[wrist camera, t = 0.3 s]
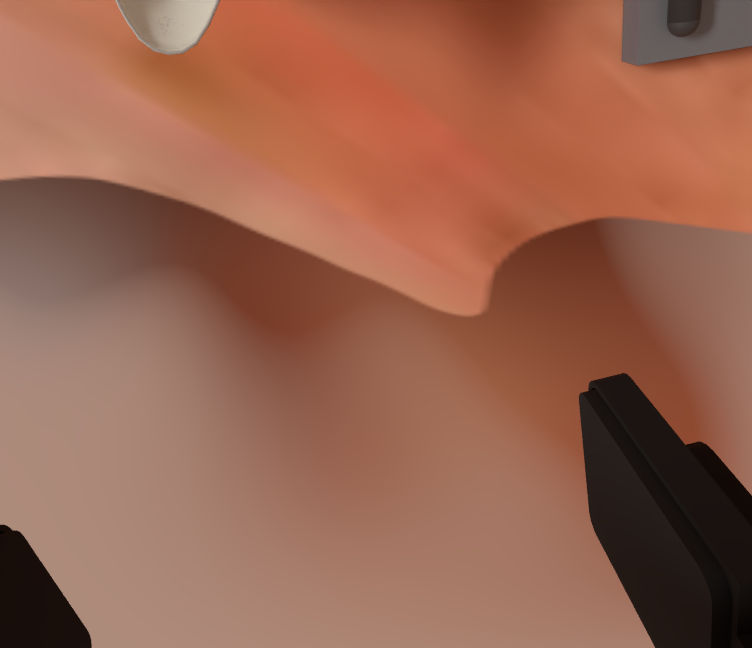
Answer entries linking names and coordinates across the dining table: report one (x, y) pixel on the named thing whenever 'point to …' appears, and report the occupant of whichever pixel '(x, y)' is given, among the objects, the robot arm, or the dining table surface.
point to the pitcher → (168, 22)
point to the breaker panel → (701, 41)
